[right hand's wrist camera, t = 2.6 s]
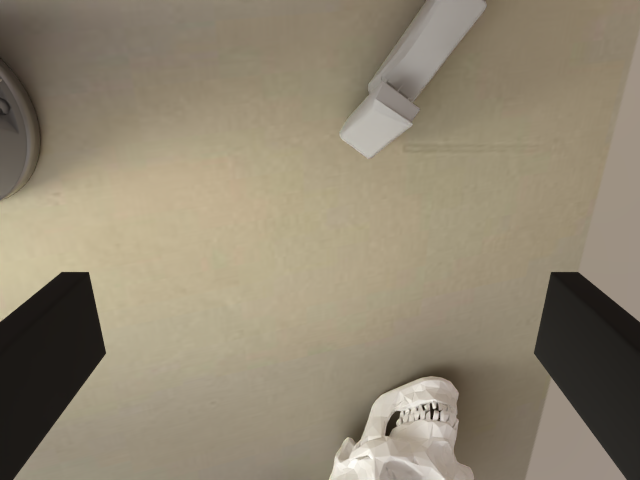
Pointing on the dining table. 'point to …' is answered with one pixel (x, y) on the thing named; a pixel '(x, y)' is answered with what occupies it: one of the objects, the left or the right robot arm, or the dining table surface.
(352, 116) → the grey segmented long block
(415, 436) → the skull
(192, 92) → the dining table surface
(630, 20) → the dining table surface
